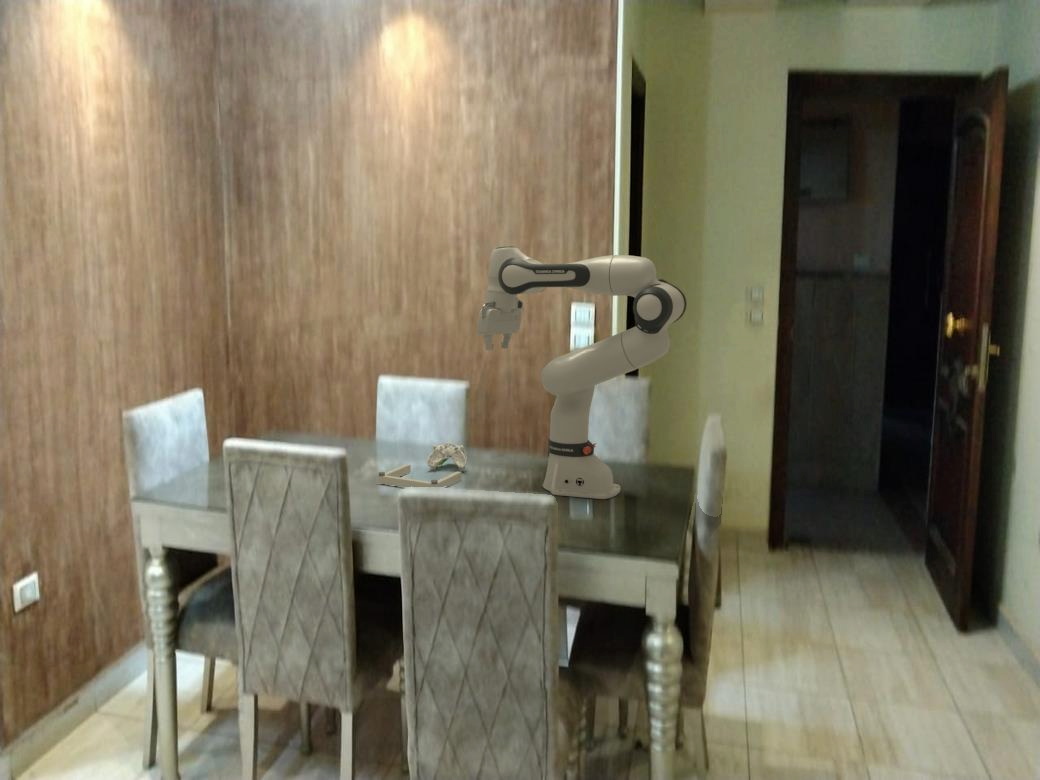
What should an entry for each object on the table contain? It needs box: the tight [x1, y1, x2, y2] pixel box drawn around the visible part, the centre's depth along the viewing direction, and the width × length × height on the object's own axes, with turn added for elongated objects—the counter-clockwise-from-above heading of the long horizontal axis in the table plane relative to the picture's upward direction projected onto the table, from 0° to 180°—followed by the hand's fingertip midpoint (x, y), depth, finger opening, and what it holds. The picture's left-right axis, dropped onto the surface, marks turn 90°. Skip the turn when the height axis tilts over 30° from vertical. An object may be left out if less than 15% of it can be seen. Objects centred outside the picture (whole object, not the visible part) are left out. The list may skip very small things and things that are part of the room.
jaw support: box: [426, 440, 468, 473], centre depth 281 cm, size 12×9×10 cm
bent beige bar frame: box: [377, 463, 462, 489], centre depth 265 cm, size 19×16×3 cm
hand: (497, 349), depth 266 cm, fingers open, 8 cm apart
